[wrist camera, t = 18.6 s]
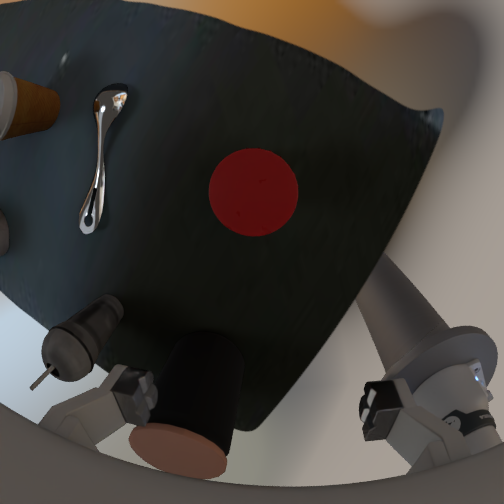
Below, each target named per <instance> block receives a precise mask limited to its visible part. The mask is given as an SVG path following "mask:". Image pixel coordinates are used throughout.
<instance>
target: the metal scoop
mask: <svg viewBox="0 0 504 504" xmlns="http://www.w3.org/2000/svg"><path fill="white" fill-rule="evenodd" d="M127 94H128V86H127V85H126V84H123V83H115V84H111V85H108V86H106V87H104V88H103V89H102V90H101V91H100V92H99V93H98V94H97V95H96V97H95V99H94V102H93V115H94V119H95V123H96V127H97V133H98V156H97V164H96V170H95V174H94V177H93V180H92V183H91V186H90V188H89V191H88V193H87V196H86V198H85V200H84V203H83V206H82V209H81V212H80V216H79V227H80V229H81V230H82V232H83V233H84V234H90V233H92V232H94V231H95V230H96V228H97V227H98V224H99V221H100V218H101V213H102V208H103V201H104V190H105V172H104V152H103V151H104V139H105V135H106V132H107V130H108V128H109V126H110V125H111V123H112V122H113V121H114V119H115V118H116V117H117V115H118V114H119V112H120V111H121V109H122V107H123V105H124V103H125V100H126V97H127ZM94 188H97V193H96V197H95V201H94V206H93V210H92V215H91V216H92V217H93V223H92V225H91V226H87V225H86V224H85V217H86V216H87V215H88V212H89V207H90V203H91V199H92V194H93V190H94Z"/></svg>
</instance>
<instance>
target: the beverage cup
mask: <svg viewBox="0 0 504 504" xmlns="http://www.w3.org/2000/svg"><path fill="white" fill-rule="evenodd" d="M123 314H124V310H123V307H122V305H121V303H120V302H119V300H118V299H117V298H115V297H114V296H112V295H108V294H105V295H102V296H101V297H100V298H98V299H96V300H94V301H93V302H92V303H90V304H89V305H87V306H86V307H85V308H83V309H82V310H80V311H79V312H78V313H76V314H75V315H74V316H72V317H71V318H69V319H68V320H67V321H65V322H62V323H60V324H58V325H57V326H55V327H52V328H51V329H50V330H49V332H48V334H47V335H46V337H45V338H44V341H43V345H42V359H43V362H44V365H45V367H46V369H47V370H46V371H45V372H44V373H43V374H42V375H41V376H40V377H39V378H38V379H37V380H36V381H35V382H34V383H33V384H32V385H31V386H30V389H31V390H32V391H33V390H34V388H36V387H37V386H38V384H40V383H41V382H42V381H43V379H44V378H45V377H46V376H47V375H48V374H49V373H50V374H51V375H53V376H54V377H55V378H57V379H59V380H62V381H65V382H74V381H78V380H80V379H81V378H83V377H85V376H86V375H87V374H88V373H90V372H91V371H92V369H93V366H94V364H95V362H96V360H97V357H98V355H99V353H100V352H101V350H102V348H103V347H104V345H105V344H106V342H107V341H108V339H109V337H110V336H111V334H112V333H113V331H114V330H115V328H116V327H117V325H118V324H119V322H120V320H121V318H122V317H123Z"/></svg>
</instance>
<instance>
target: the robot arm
mask: <svg viewBox="0 0 504 504" xmlns="http://www.w3.org/2000/svg"><path fill="white" fill-rule="evenodd" d="M153 379H154V376H153V373H152V372H151V371H148V370H143V369H139V368H134V367H129V366H124V365H120V364H118V365H115V366H114V368H113V369H112V370H111V372H110V373H109V375H108V376H107V377H106V379H105V380H104V381H103V383H102V384H101V385H100V387H99V388H93V389H91V390H89V391H86V392H84V393H82V394H80V395H78V396H75V397H73V398H71V399H68V400H66V401H64V402H62V403H59V404H57V405H54V406H52V407H51V409H50V410H49V411H48V412H47V414H46V415H45V416H44V417H43V419H42V420H41V421H40V423H39V424H36V423H34V422H32V421H30V420H28V419H27V418H25V417H23V416H21V415H20V414H18V413H16V412H15V411H13V410H11V409H10V408H8V407H6V406H5V405H3V404H2V403H0V504H504V442H502V441H501V439H500V437H499V435H498V433H497V431H496V424H495V422H494V418H493V417H492V416H491V414H490V412H489V411H488V410H489V409H488V408H489V407H488V402H490V401H491V400H492V399H493V396H492V394H491V393H490V391H489V390H487V388H486V383H485V379H484V375H483V371H482V367H481V363H480V361H479V359H475V360H472V361H470V362H468V363H466V364H459V365H453V366H450V367H447V368H445V369H443V370H441V371H439V372H437V373H435V374H434V375H432V376H431V377H430V378H428V379H427V380H426V381H425V382H423V383H422V384H421V385H420V386H419V387H418V388H417V390H416V391H415V392H414V393H413V395H412V394H411V391H410V389H409V387H408V385H407V383H406V380H405V379H404V378H399V379H391V380H382V381H372V382H367V383H366V384H365V387H364V392H365V395H363V396H362V397H361V400H360V404H359V416H360V420H361V421H362V422H364V425H363V428H362V430H363V434H364V438H365V441H374V440H383V439H386V441H387V442H388V443H389V444H390V445H391V446H392V447H393V448H394V449H395V450H396V451H397V452H398V453H399V454H400V455H401V456H402V457H403V458H404V459H405V460H406V461H407V462H408V463H409V464H410V465H411V466H412V467H411V469H410V470H409V471H408V473H407V474H406V475H401V476H397V477H391V478H386V479H380V480H374V481H367V482H359V483H352V484H342V485H328V486H307V487H280V486H257V485H243V484H233V483H224V482H217V481H209V480H203V479H197V478H192V477H186V476H181V475H176V474H172V473H167V472H163V471H159V470H155V469H151V468H147V467H144V466H140V465H137V464H133V463H130V462H127V461H123V460H120V459H117V458H114V457H111V456H108V455H106V454H103V453H100V452H99V451H98V449H97V448H96V446H95V445H96V444H97V443H99V442H100V441H102V440H103V439H105V438H106V437H108V436H109V435H111V434H112V433H114V432H115V431H117V430H118V429H119V428H121V427H122V426H124V425H125V424H126V423H130V424H134V425H138V426H143V427H145V426H146V424H147V422H148V420H149V418H150V416H151V415H150V412H149V411H150V410H151V409H153V408H154V407H155V405H156V403H157V398H158V390H157V387H156V385H155V384H154V383H153V382H152V381H153Z"/></svg>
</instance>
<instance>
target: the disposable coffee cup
mask: <svg viewBox="0 0 504 504" xmlns="http://www.w3.org/2000/svg"><path fill="white" fill-rule="evenodd" d="M59 110H60V99H59V95H58V94H57V92H56V91H54V90H51V89H48V88H46V87H43V86H40V85H37V84H34V83H31V82H28V81H25V80H22V79H19V78H15V77H13V76H12V75H11V74H10V73H8V72H6V71H2V72H0V141H1V140H5V139H9V138H13V137H17V136H21V135H25V134H30V133H34V132H39V131H44V130H47V129H49V128H50V127H51V126H52V125H53V124H54V122H55V121H56V119H57V116H58V114H59Z"/></svg>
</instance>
